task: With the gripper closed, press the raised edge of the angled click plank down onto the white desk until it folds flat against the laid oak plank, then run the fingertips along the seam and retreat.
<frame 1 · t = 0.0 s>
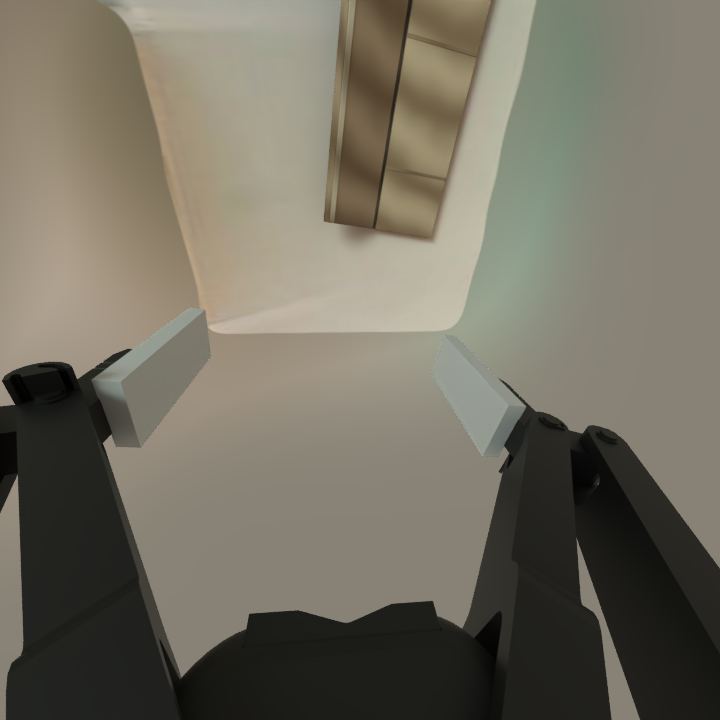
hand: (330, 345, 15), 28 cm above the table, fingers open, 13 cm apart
laid plank: (393, 95, 32), on the table
click plank: (367, 78, 29), point 3 cm above the table, hinge at 32.0°
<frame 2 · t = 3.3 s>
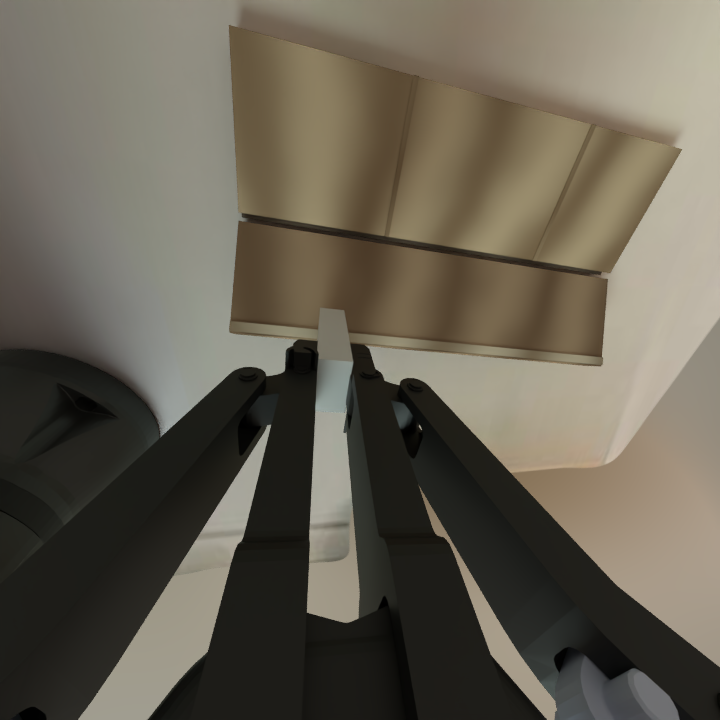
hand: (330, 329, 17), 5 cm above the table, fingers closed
laid plank: (440, 248, 21), on the table
click plank: (438, 304, 20), point 3 cm above the table, hinge at 29.2°, touching gripper
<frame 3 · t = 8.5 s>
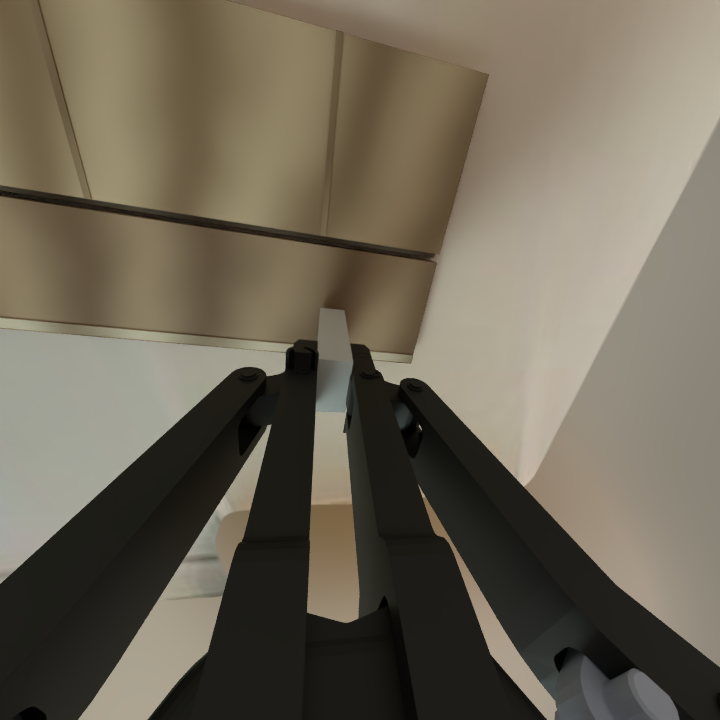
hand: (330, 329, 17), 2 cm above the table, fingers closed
laid plank: (198, 220, 15), on the table
click plank: (200, 289, 16), point 1 cm above the table, hinge at 2.2°
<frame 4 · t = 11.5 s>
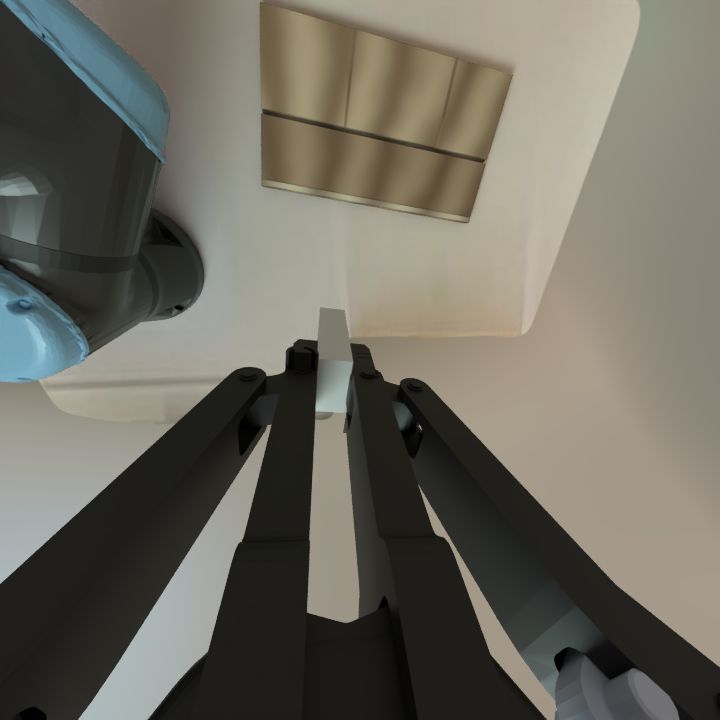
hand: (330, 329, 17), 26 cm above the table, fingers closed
laid plank: (379, 140, 34), on the table
click plank: (375, 175, 35), point 1 cm above the table, hinge at 2.2°
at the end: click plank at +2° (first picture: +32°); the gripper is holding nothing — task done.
